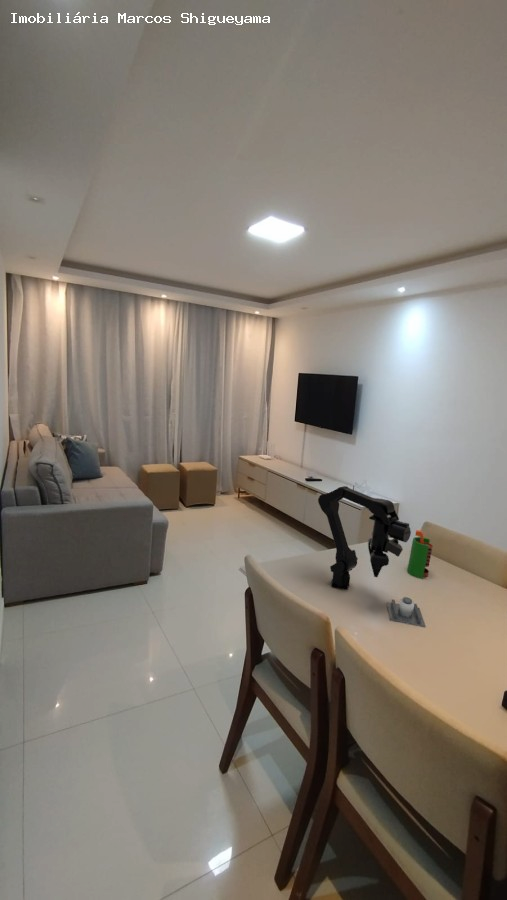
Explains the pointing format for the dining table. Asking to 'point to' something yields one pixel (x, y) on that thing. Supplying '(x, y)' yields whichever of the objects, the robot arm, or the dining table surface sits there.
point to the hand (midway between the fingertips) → (374, 571)
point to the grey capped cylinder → (406, 607)
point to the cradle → (397, 617)
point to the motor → (419, 556)
